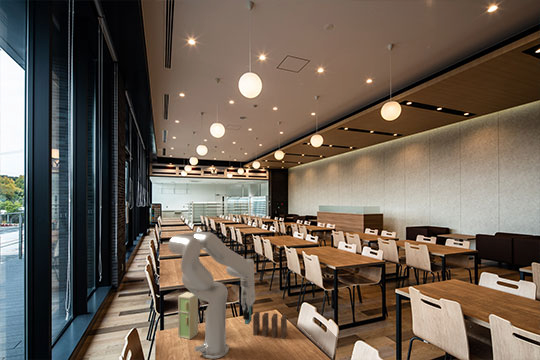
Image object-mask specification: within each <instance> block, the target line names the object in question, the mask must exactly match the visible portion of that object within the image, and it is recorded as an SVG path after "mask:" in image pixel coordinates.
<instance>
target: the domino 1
mask: <svg viewBox="0 0 540 360" xmlns="http://www.w3.org/2000/svg"><path fill="white" fill-rule="evenodd" d="M246 306H247V305H246ZM245 308H247V307H245ZM252 321H253V315H251V306H250V307H249V320H245V319H244V325H250V323H251V322H252Z"/></svg>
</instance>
